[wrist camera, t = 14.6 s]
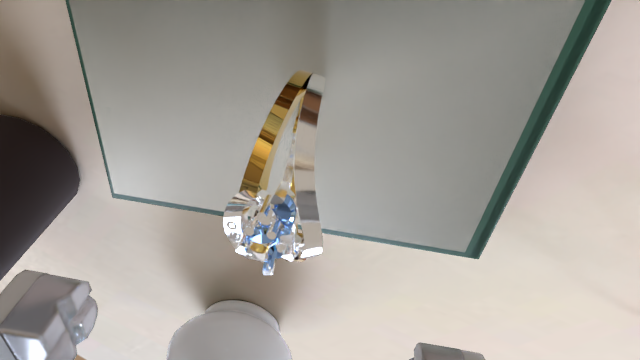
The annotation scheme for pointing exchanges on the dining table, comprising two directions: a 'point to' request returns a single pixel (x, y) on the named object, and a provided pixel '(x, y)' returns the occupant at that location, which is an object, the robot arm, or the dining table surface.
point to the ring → (281, 183)
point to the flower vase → (230, 335)
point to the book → (334, 103)
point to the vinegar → (30, 186)
